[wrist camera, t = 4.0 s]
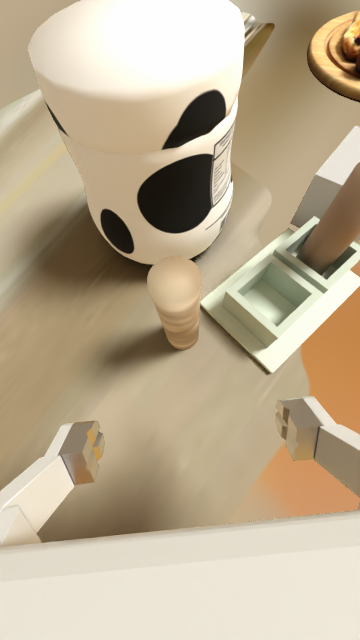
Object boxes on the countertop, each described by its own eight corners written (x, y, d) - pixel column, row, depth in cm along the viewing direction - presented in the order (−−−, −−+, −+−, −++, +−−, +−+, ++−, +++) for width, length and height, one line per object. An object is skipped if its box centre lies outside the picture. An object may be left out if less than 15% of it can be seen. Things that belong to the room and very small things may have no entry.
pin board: (270, 373, 24) (341, 338, 13) (199, 304, 28) (202, 226, 16) (361, 283, 27) (484, 188, 16) (286, 231, 31) (343, 121, 19)
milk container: (97, 196, 36) (12, 5, 19) (205, 170, 36) (214, -36, 20) (114, 291, 29) (7, 129, 12) (245, 257, 30) (309, 61, 13)
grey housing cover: (347, 251, 29) (391, 206, 23) (290, 223, 31) (315, 174, 25) (379, 203, 32) (427, 150, 25) (324, 180, 34) (355, 125, 27)
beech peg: (181, 356, 25) (170, 313, 14) (160, 333, 27) (136, 277, 15) (204, 335, 26) (212, 279, 15) (184, 314, 27) (176, 247, 16)
